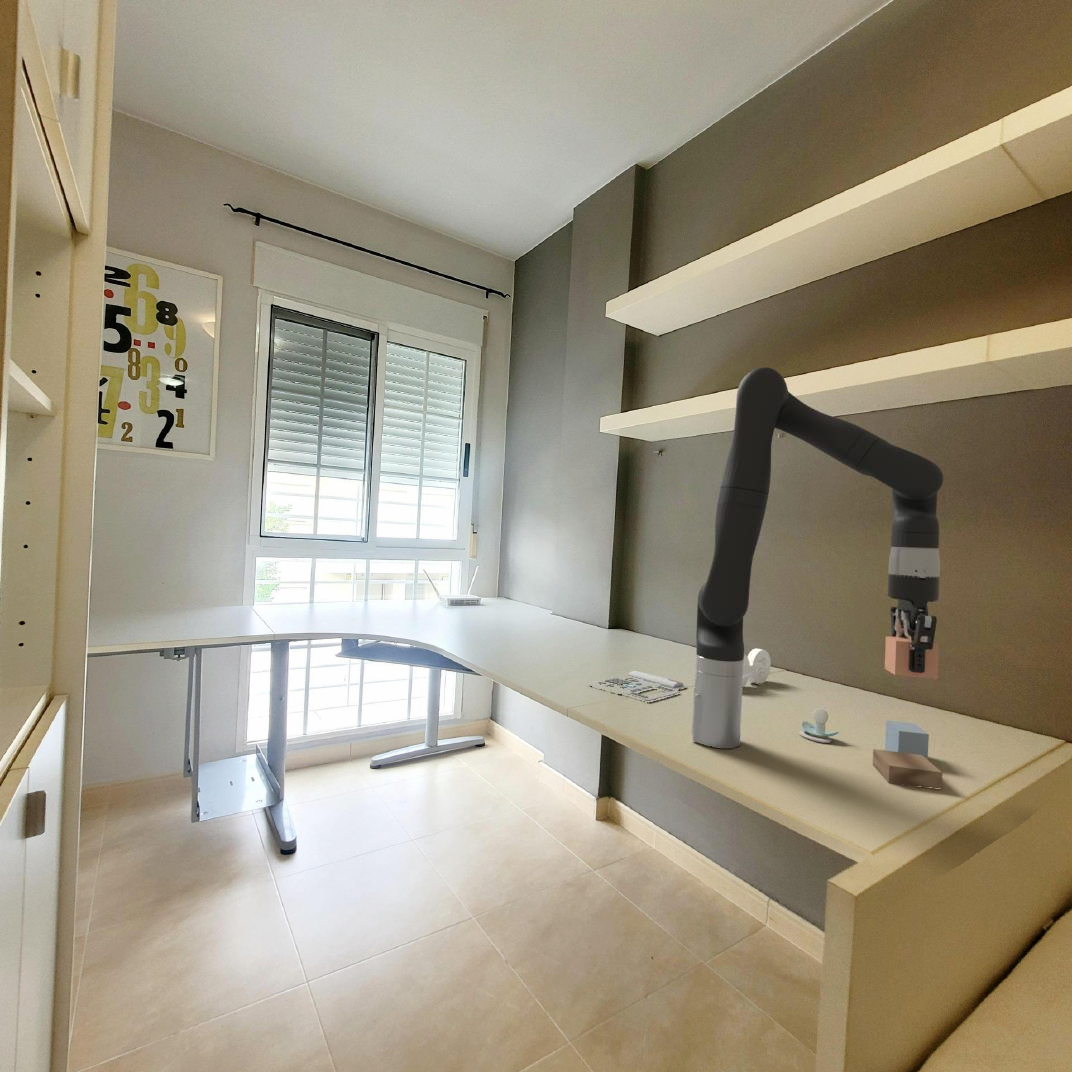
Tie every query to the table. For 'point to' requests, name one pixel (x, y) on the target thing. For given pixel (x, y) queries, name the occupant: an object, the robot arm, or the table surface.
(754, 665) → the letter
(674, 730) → the table surface
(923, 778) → the base block
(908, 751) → the brick slate
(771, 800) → the table surface
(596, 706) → the table surface
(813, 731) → the pacifier
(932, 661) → the brick terracotta
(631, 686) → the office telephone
